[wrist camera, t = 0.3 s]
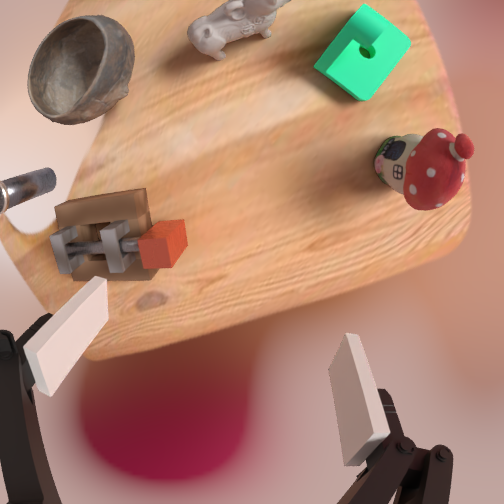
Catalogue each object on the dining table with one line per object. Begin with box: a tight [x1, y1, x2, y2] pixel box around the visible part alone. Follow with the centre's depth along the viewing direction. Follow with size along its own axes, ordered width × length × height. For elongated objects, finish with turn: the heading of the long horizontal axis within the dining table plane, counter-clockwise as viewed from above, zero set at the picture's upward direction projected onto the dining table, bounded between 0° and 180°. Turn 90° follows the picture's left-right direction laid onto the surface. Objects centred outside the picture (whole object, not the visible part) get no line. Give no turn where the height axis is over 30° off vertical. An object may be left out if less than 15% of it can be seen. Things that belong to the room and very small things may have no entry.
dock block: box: [49, 188, 160, 281], centre depth 38 cm, size 12×14×8 cm
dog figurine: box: [187, 0, 291, 61], centre depth 25 cm, size 5×13×11 cm, turn 120°
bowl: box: [28, 15, 135, 125], centre depth 28 cm, size 14×15×10 cm
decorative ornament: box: [374, 128, 474, 210], centre depth 28 cm, size 9×7×15 cm
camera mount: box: [314, 4, 411, 101], centre depth 26 cm, size 12×8×10 cm, turn 145°
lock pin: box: [65, 219, 188, 269], centre depth 36 cm, size 4×18×7 cm, turn 94°
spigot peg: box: [0, 168, 56, 214], centre depth 34 cm, size 4×4×12 cm
